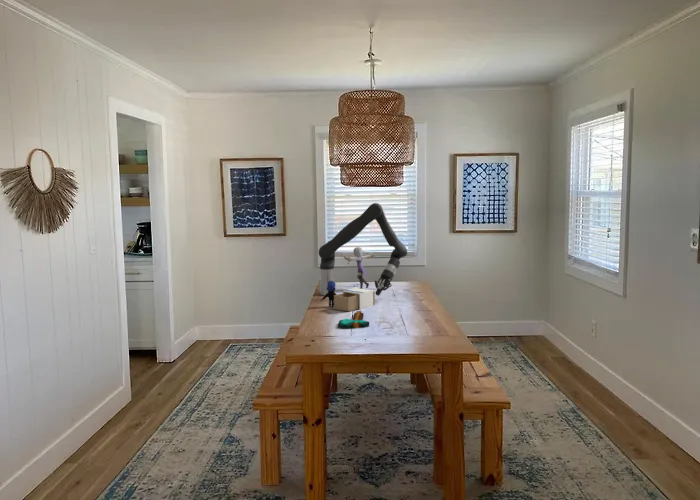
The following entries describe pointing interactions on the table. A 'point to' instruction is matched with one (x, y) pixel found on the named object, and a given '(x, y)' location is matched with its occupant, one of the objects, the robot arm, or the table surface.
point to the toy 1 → (330, 292)
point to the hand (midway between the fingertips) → (377, 294)
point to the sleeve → (362, 297)
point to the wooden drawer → (348, 301)
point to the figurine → (361, 270)
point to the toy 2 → (354, 321)
